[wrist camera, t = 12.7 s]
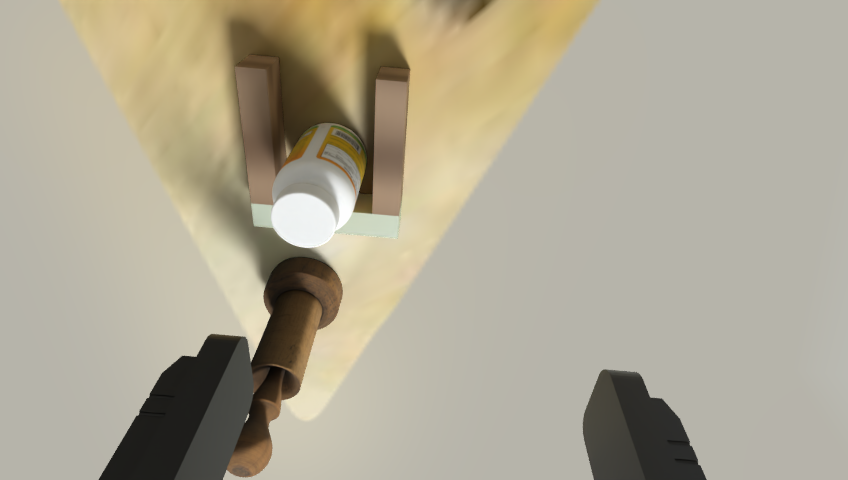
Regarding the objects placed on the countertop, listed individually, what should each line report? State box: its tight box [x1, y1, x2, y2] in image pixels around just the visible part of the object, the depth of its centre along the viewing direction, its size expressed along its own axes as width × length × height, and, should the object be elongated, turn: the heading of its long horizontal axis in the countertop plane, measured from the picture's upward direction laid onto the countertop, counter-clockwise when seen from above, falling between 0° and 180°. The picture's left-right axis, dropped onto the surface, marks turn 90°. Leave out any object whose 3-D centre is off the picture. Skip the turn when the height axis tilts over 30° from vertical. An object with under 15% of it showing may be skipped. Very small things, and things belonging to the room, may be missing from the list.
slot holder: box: [235, 55, 410, 239], centre depth 38 cm, size 12×11×3 cm
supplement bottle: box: [271, 123, 367, 248], centre depth 36 cm, size 5×5×10 cm
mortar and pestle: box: [227, 257, 343, 477], centre depth 39 cm, size 7×6×18 cm
